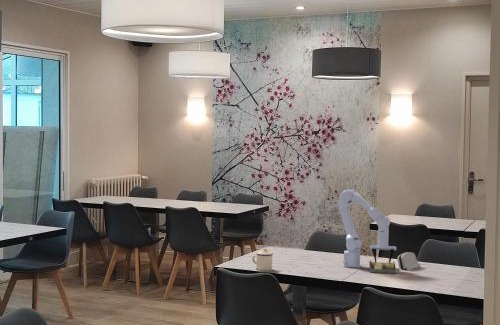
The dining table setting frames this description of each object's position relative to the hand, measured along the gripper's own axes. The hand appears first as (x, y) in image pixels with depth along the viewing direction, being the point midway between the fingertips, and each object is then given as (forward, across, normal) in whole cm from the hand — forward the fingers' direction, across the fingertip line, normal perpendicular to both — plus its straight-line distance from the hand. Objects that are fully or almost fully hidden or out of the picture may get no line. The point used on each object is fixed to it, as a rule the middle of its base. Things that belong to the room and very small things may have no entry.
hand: (382, 262), depth 377 cm
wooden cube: (+2, +3, +6) cm, 7 cm away
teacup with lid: (+4, +66, +16) cm, 68 cm away
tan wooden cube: (+2, -4, +1) cm, 4 cm away
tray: (+4, 0, +6) cm, 7 cm away
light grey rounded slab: (+4, -15, -10) cm, 19 cm away
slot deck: (+4, 0, -4) cm, 6 cm away
